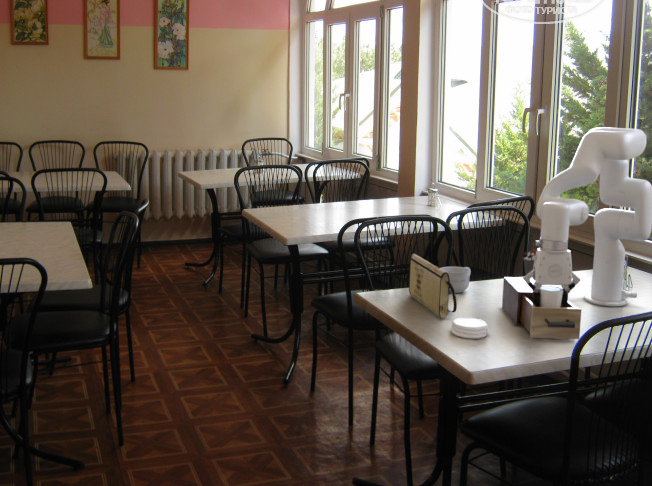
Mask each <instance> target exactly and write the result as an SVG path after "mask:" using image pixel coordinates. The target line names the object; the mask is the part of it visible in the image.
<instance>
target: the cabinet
mask: <svg viewBox="0 0 652 486" xmlns="http://www.w3.org/2000/svg"><path fill="white" fill-rule="evenodd" d="M530 281H531V283H532V284H534V283H535V280H533V278H531V279H530ZM542 286H556V287H560V288H562V286H561V285H542ZM521 295H533V290H532V289H531V288H530V287H529V286H528V285H527V283H526V282H525V281H524V280H523V277H520V276H519V277H517V276H515V277H513V276H504V277H503V285H502V299H501V300H502V301H501V309H502V311H503V312H504V313H505V314H506V316H507V317H508V318H509V319H510V320H511V322H512V323H513V324H514V325H515V327H525V326H524V325H523V324H522V323H521V322H520V321H519V316H520V301H521Z"/></svg>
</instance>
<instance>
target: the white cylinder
mask: <svg viewBox="0 0 652 486" xmlns="http://www.w3.org/2000/svg"><path fill="white" fill-rule="evenodd" d="M560 287H561V286H560ZM560 287H556V286H541V288H540V289H539V293H540V303H539V307H561V301H562V295H563V288H562V287H561V288H560Z"/></svg>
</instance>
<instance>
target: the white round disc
mask: <svg viewBox="0 0 652 486" xmlns="http://www.w3.org/2000/svg"><path fill="white" fill-rule="evenodd" d="M451 333H452V335H454V336H456V337H458V338H462V339H469V340H477V339H478V340H479V339H482V338H485V337H486V336H487V335H488V323H487V322H486V321H485V320H482V319H480V318H476V317H468V316H467V317H464V316H463V317H456V318H454V319H453V320H452V321H451Z"/></svg>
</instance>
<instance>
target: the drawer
mask: <svg viewBox="0 0 652 486" xmlns="http://www.w3.org/2000/svg"><path fill="white" fill-rule="evenodd" d="M532 298H533V295H521V301H520V316H519V321H520V322H521V323H522V324H523V325H524V326H523V327H524V329H526V330H527V332H529V338H531V339H553V340H554V339H556V340H557V339H558V340H560V339H561V340H579V339H580V333H581V319H582V308H581V307H576V306H575V305H574V304H573V303H572V302H570V301H569V300H568V302H567V303H566V306H562V305H561V307H539V306H536V305H535V304H534V302H533V301H532Z"/></svg>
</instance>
